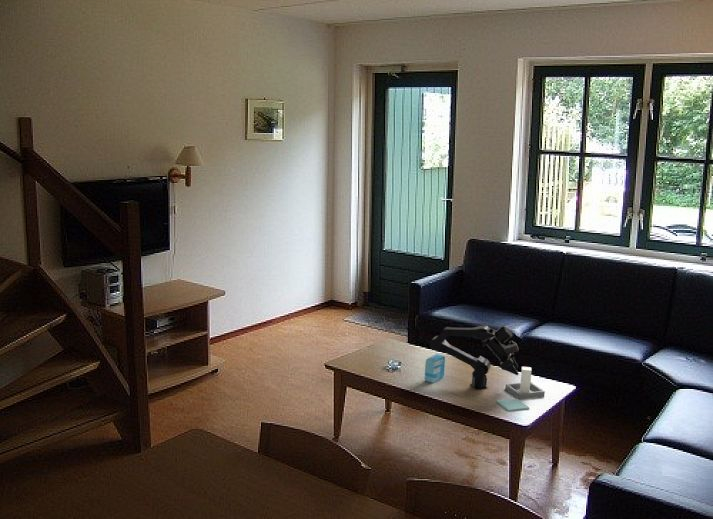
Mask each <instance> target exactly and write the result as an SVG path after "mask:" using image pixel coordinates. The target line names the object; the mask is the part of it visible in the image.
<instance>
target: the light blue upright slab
mask: <svg viewBox="0 0 713 519" xmlns="http://www.w3.org/2000/svg"><path fill="white" fill-rule="evenodd" d="M445 364H446V357H445V355H441V354H434V355H431V356H430V357H428V358H426V360H425V365H424V381H425V382H428V383H431V384H434V383H437V381H440V380H441V379H443V378H444V377H445V366H446V365H445Z"/></svg>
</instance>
